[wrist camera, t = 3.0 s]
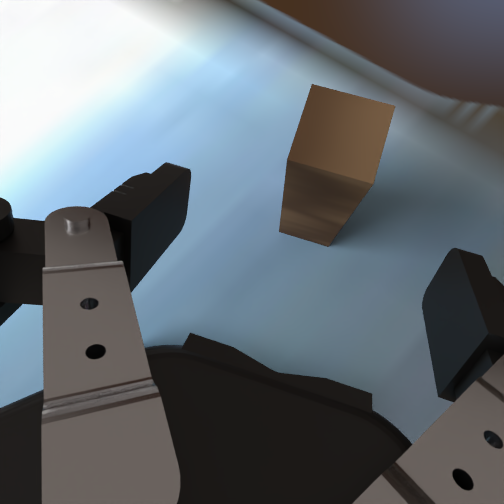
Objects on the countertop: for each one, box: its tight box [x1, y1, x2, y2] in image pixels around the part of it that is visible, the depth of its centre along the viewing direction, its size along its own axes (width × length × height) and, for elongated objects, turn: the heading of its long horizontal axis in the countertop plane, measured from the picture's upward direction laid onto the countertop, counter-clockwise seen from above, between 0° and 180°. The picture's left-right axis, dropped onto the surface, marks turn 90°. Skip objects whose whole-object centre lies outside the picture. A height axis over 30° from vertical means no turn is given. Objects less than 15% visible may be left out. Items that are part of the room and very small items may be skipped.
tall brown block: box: [279, 84, 395, 247], centre depth 18 cm, size 3×3×10 cm
